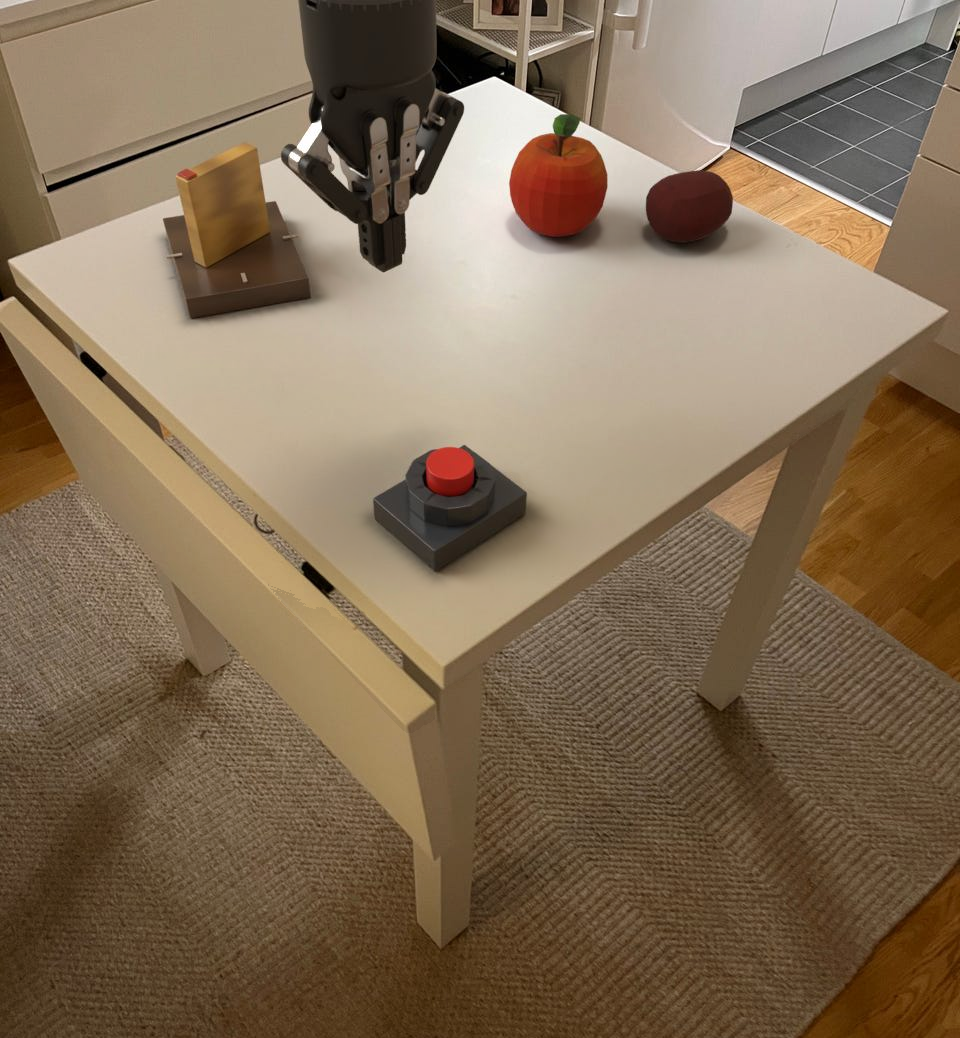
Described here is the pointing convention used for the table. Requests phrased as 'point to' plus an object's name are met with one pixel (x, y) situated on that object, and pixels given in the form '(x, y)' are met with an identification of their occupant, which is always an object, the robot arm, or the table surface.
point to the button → (450, 471)
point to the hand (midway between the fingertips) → (383, 263)
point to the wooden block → (223, 203)
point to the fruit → (558, 181)
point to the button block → (448, 511)
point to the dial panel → (239, 270)
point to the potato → (688, 205)
